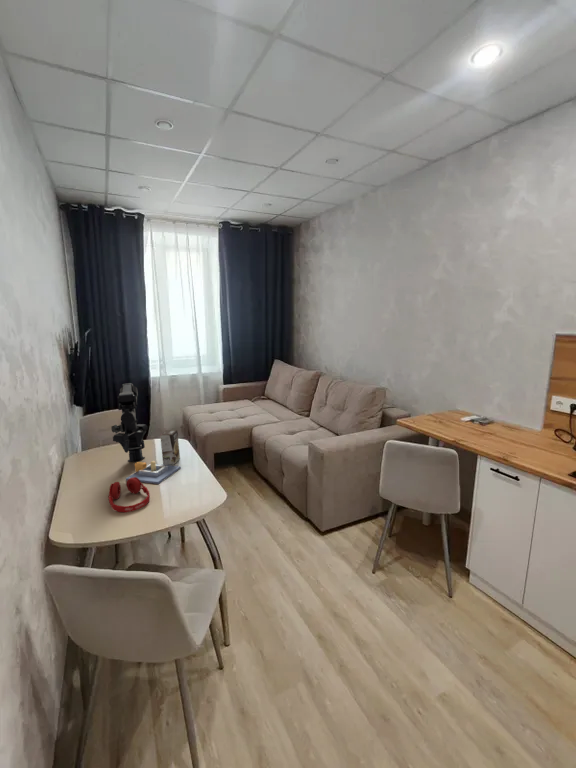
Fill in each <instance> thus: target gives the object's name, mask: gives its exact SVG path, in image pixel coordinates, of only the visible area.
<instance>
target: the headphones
mask: <svg viewBox="0 0 576 768" xmlns="http://www.w3.org/2000/svg"><path fill="white" fill-rule="evenodd" d="M125 486H126V489H127V490H128V491H129V493H131V494H135V495H137V494H138V493H140V492H141V490H142V492H143V493H144V494H146V497H145V499H143V500H141V501H140V502H137V503H135V504H131V505H118V504H115V503H114V500H118V499H119V498H120V496H121V492H122V490H121V489H122V488H121V483H120V482H118V481H116V482H114V483H113V482H112V483H111V484H110V486H109V492H108V495H107V496H108V497H107V498H108V501H109V505H110V507H111V509H112V510H114V511H115V512H118V513H129V512H133V511H137V510H139V509H142V508H143V507H145V506H146V505H148V504H149V502H150V499H151V498H150V496H151V495H150V491H149V489H148V487H146V486H145V485H144V484H143V482H140V480H139V479H138V478H136V477H134V478H130V479H128V480H126V484H125Z"/></svg>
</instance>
